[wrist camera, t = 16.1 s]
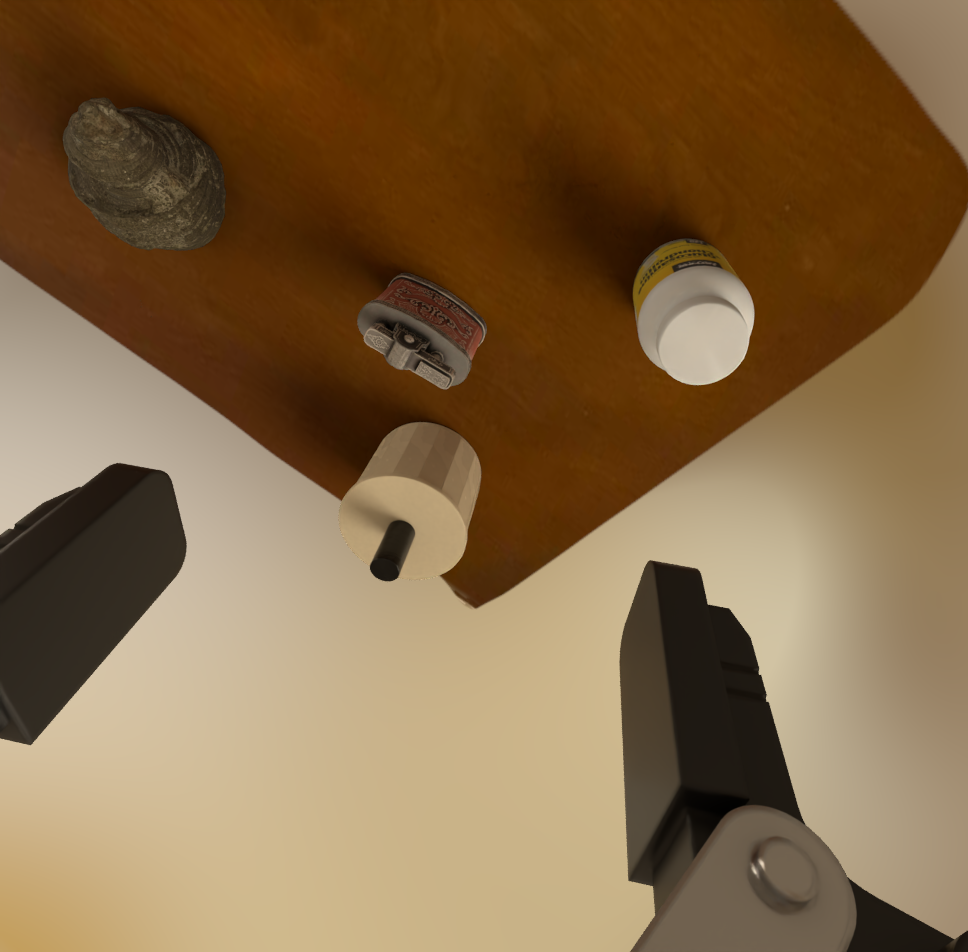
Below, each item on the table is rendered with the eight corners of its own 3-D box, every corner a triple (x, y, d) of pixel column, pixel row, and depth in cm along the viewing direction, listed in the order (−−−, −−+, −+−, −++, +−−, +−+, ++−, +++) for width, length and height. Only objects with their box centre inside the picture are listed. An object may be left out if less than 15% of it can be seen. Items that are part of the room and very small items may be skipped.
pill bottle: (732, 230, 39) (776, 277, 29) (725, 326, 42) (763, 396, 33) (630, 242, 40) (641, 291, 31) (631, 333, 43) (641, 403, 34)
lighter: (383, 300, 45) (335, 348, 37) (401, 262, 43) (355, 302, 35) (473, 355, 46) (447, 413, 38) (495, 320, 45) (472, 372, 36)
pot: (486, 431, 50) (468, 487, 43) (476, 519, 55) (458, 582, 48) (377, 413, 51) (342, 465, 44) (377, 502, 56) (346, 561, 49)
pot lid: (474, 480, 43) (460, 527, 39) (463, 580, 49) (449, 632, 44) (340, 457, 44) (311, 500, 39) (345, 558, 50) (319, 606, 45)
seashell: (247, 169, 36) (100, 16, 32) (106, 306, 35) (-59, 165, 32) (261, 211, 46) (152, 99, 43) (154, 317, 46) (34, 212, 42)
